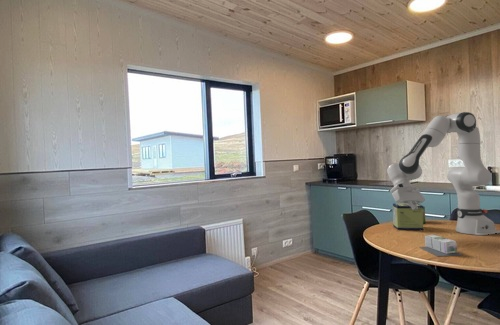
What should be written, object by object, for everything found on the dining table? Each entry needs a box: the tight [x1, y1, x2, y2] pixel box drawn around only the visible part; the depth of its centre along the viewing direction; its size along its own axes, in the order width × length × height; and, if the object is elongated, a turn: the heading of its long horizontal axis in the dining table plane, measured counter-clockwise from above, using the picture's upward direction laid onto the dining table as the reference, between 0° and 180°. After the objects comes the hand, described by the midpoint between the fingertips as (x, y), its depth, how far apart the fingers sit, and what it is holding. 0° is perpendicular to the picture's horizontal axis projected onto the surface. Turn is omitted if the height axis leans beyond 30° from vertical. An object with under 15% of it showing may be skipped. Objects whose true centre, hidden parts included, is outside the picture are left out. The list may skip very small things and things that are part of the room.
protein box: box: [392, 203, 424, 231], centre depth 205 cm, size 10×16×16 cm
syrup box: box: [424, 234, 458, 254], centre depth 157 cm, size 6×6×14 cm
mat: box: [419, 246, 463, 257], centre depth 156 cm, size 12×15×1 cm
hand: (415, 209), depth 178 cm, fingers closed
